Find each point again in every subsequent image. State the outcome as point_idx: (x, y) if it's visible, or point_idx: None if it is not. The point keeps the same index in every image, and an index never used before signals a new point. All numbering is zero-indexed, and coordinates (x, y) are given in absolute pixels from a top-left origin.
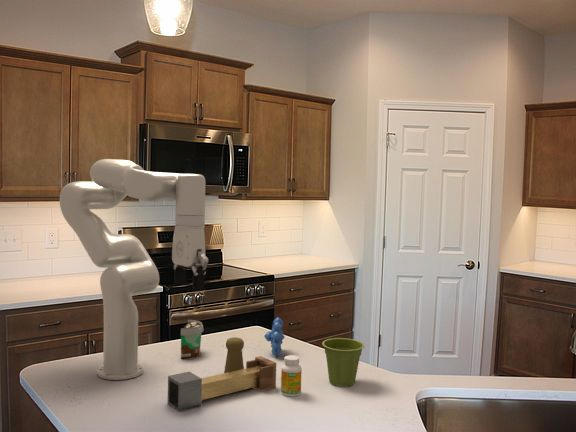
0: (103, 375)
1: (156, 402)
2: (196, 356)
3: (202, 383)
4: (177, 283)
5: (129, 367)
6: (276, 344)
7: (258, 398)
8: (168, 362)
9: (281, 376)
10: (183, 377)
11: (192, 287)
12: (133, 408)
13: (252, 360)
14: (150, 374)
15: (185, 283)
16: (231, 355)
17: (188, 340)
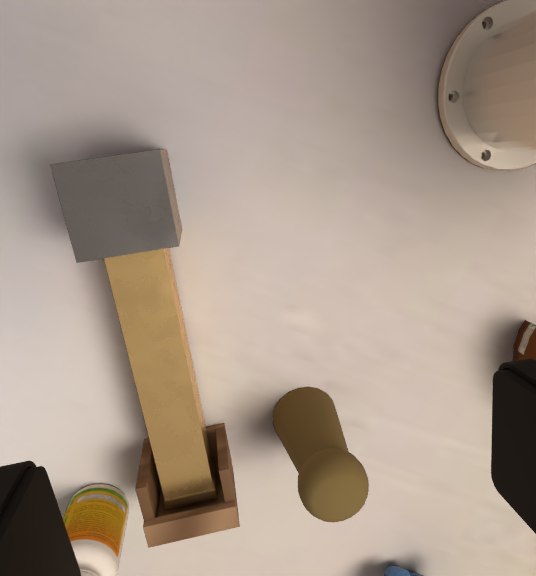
0: (492, 6)
1: (189, 118)
2: None
3: (114, 269)
4: (501, 394)
5: (475, 102)
6: None
7: (95, 415)
8: (518, 273)
9: (95, 522)
10: (116, 201)
11: (2, 486)
12: (168, 25)
13: (230, 489)
14: (445, 183)
15: (499, 484)
16: (306, 444)
17: None
